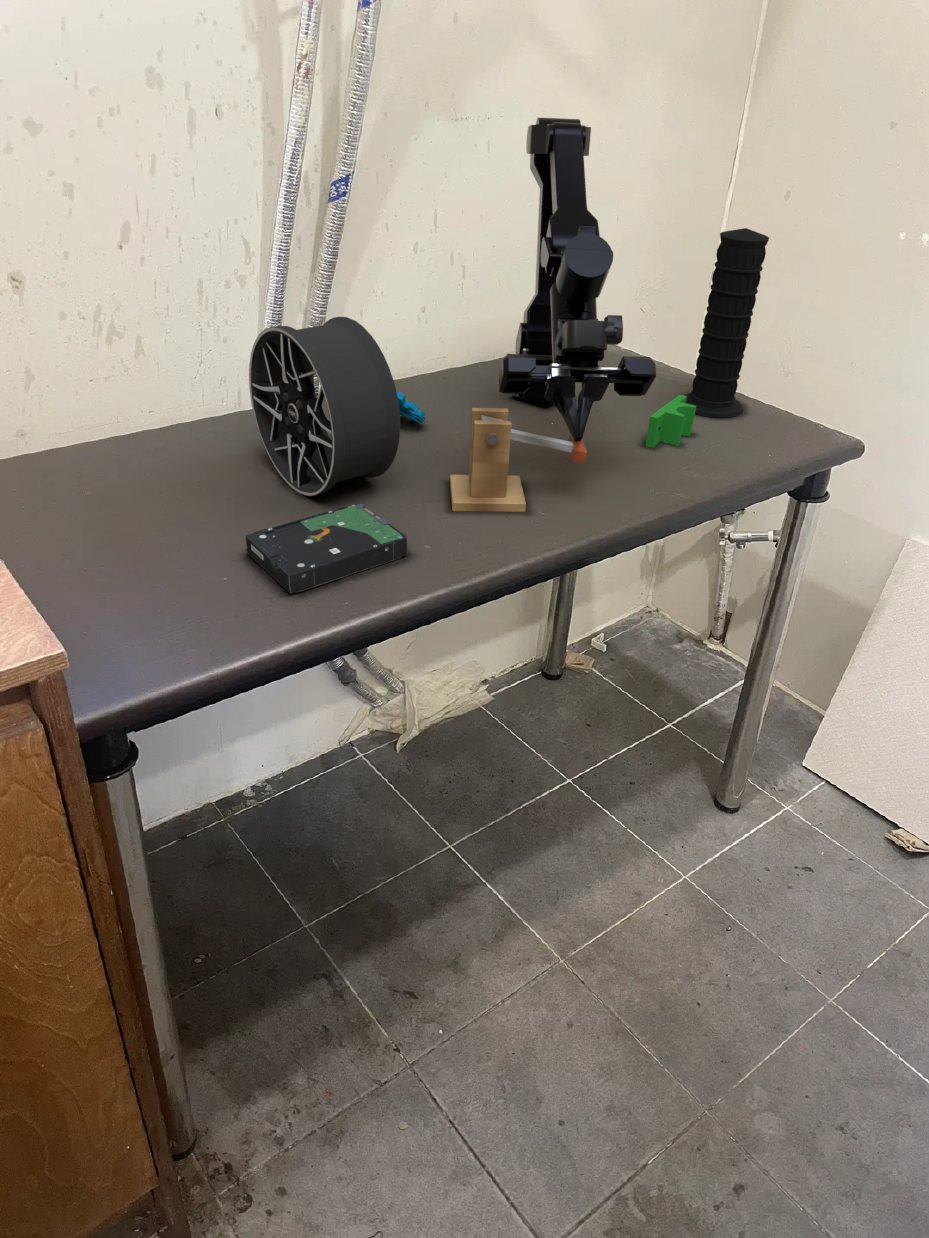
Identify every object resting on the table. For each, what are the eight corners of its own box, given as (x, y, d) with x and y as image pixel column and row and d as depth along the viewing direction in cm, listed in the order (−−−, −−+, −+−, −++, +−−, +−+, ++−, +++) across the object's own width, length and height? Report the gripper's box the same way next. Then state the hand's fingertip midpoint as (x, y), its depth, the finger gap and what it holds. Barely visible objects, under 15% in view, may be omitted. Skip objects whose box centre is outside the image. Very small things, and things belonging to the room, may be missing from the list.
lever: (576, 450, 115) (582, 432, 113) (582, 467, 111) (588, 449, 109) (475, 428, 112) (480, 410, 111) (478, 444, 108) (483, 426, 107)
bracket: (518, 483, 119) (525, 404, 113) (525, 512, 112) (532, 429, 106) (449, 482, 118) (452, 402, 112) (452, 511, 111) (455, 428, 105)
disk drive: (291, 599, 94) (409, 556, 102) (289, 576, 93) (409, 534, 100) (245, 557, 101) (359, 520, 108) (243, 534, 99) (358, 499, 107)
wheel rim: (256, 462, 121) (242, 308, 110) (316, 446, 126) (308, 298, 114) (337, 521, 108) (330, 354, 97) (400, 501, 113) (401, 340, 102)
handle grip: (678, 413, 142) (744, 421, 140) (711, 232, 127) (785, 238, 125) (679, 391, 150) (741, 398, 148) (709, 219, 135) (779, 224, 133)
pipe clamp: (669, 453, 129) (675, 423, 126) (645, 447, 131) (649, 416, 128) (698, 428, 137) (703, 399, 134) (674, 422, 138) (679, 393, 136)
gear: (440, 420, 131) (395, 380, 124) (418, 455, 131) (372, 416, 124) (398, 406, 139) (353, 367, 132) (377, 439, 138) (331, 401, 132)
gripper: (507, 285, 106) (509, 411, 103) (665, 289, 107) (672, 414, 104) (497, 333, 117) (499, 448, 114) (641, 336, 118) (647, 450, 115)
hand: (578, 440), depth 111 cm, fingers closed
